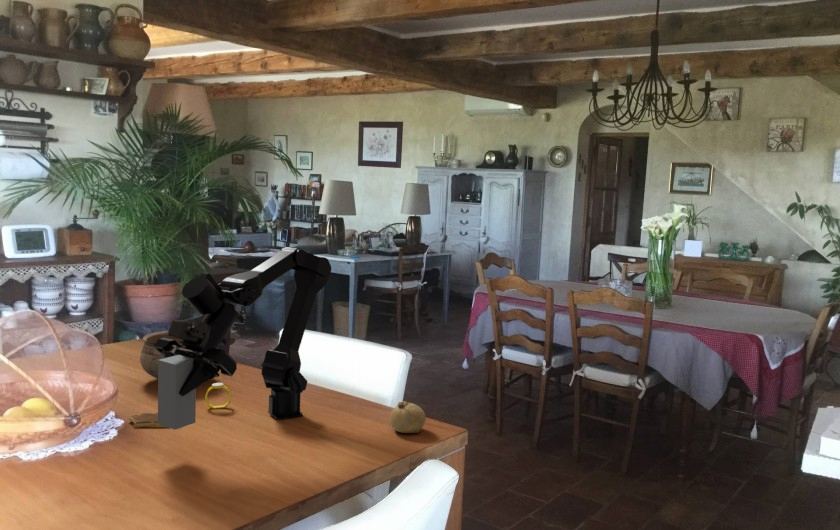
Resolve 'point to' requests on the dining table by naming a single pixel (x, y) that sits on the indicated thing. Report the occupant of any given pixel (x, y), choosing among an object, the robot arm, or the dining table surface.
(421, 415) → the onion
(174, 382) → the slate block
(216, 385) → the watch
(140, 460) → the dining table surface
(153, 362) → the cooking pot
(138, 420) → the shard
